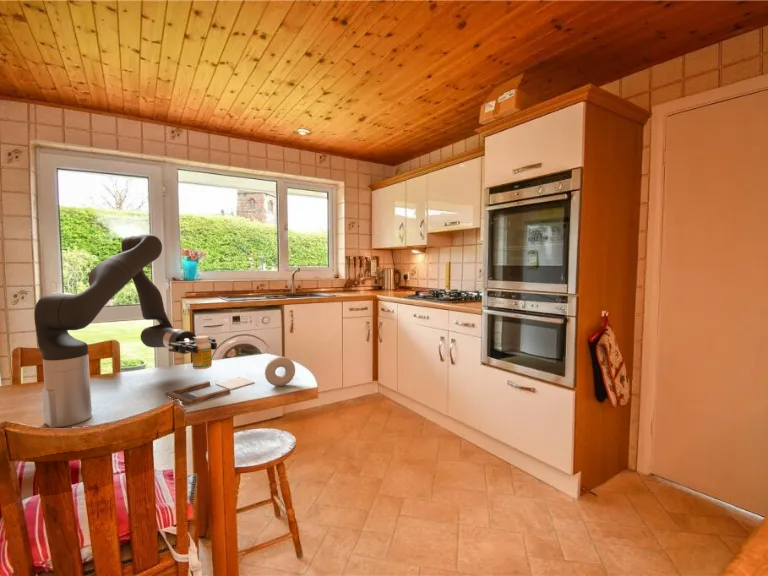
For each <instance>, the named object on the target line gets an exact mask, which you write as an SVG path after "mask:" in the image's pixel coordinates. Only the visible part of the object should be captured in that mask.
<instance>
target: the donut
mask: <svg viewBox="0 0 768 576" xmlns="http://www.w3.org/2000/svg"><path fill="white" fill-rule="evenodd" d="M278 368H283V369H284V373H283V374H282V375H277V374H276V371H277V369H278ZM264 375H265V379H266V381H267V383H269V384H270V385H272V386H275V387H282V386H287V384H290V383H291V381H292V380H293V379H294V377H295V375H296V366H295V364H294V362H293V360H291V359H290V358H288V357H286V356H277V357H274V358H272V359H271V360H269V362H268V363H267V365H266V366H265V370H264Z"/></svg>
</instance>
